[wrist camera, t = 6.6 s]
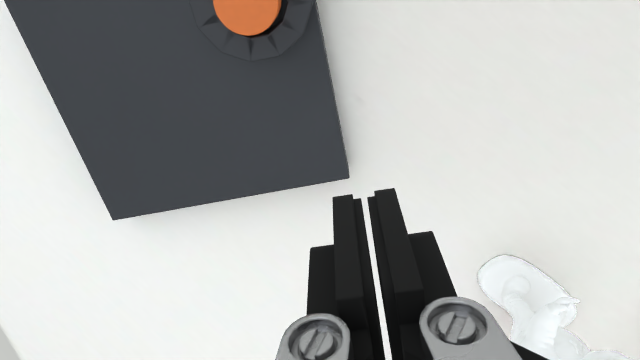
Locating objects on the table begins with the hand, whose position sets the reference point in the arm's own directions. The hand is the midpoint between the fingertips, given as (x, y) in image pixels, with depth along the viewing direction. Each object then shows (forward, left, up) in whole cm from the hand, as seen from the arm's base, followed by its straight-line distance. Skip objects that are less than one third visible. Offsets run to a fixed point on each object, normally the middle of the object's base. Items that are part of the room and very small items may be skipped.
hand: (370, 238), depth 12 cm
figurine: (-11, +19, -17) cm, 27 cm away
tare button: (+4, -6, -13) cm, 15 cm away
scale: (+9, -1, -16) cm, 19 cm away
